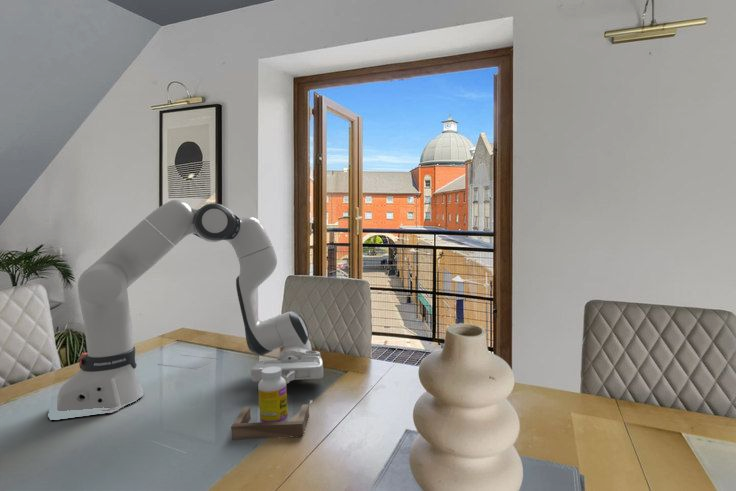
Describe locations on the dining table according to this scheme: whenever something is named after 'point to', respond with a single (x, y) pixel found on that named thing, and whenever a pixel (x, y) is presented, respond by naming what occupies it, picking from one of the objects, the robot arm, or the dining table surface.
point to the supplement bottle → (272, 396)
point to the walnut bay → (268, 426)
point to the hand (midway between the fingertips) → (282, 380)
